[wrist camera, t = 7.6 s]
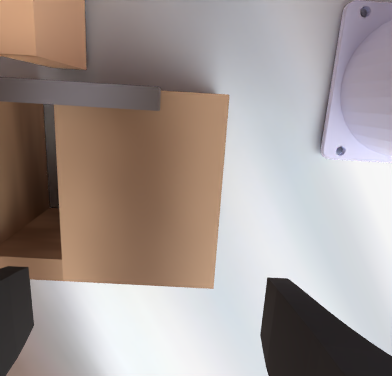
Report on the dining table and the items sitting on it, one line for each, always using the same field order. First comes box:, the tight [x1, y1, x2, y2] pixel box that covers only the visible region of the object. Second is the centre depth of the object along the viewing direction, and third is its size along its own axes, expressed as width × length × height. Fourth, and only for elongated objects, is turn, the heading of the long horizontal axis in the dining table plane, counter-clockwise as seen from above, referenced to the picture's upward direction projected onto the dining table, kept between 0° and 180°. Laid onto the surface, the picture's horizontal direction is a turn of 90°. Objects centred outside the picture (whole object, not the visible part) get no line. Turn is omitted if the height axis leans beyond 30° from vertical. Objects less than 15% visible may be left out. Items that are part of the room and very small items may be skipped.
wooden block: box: [0, 77, 229, 289], centre depth 15 cm, size 16×8×7 cm, turn 87°
